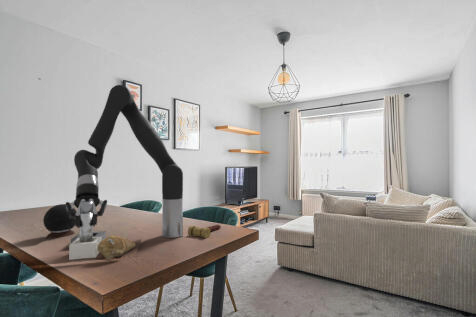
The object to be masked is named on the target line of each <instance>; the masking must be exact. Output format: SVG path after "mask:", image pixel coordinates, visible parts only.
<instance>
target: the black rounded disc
mask: <svg viewBox="0 0 476 317" xmlns="http://www.w3.org/2000/svg"><path fill="white" fill-rule="evenodd" d="M72 210H73V212H74V213H76V212H77V209H76V208H75V207H73V208H72ZM42 221H43V225H44V226H43V227H44V228H45V229H46V230H48V232H50V233H48V234H47V235H46V236H45V240H48V239H57V238H65V237H70V236H73V235H75V231H74V230H72V229H73V228H74V227H76V226H75V218H73V219H71V218H70V217H69V214H68V212H67V209H66V203H65V204H64V203H63V204H57V205H54V206H51V207H50V208H49V209H48V210H47V211H46V212H45V214H44V216H43V220H42Z"/></svg>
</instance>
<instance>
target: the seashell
mask: <svg viewBox="0 0 476 317" xmlns="http://www.w3.org/2000/svg"><path fill="white" fill-rule="evenodd" d="M136 245H137V244H136V242H134V241H132V240H130V239H129V238H125V237H124V236H118V235H116V234H115V235H109V236H106V238H105V239H103V240H102V241H101V242H100V243H99V245H98V248H97V249H98V251H99V252H100V253H99V254H101V255H102V256H103V258H104V259H105V260H107V261H110V260H113V259H114V258H115V259H119V258H120V257H122V256H123V255H124V254H126V253H128V252H129V251H131V250H132V249H134V248H135V247H136Z"/></svg>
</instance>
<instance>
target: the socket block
mask: <svg viewBox="0 0 476 317" xmlns="http://www.w3.org/2000/svg"><path fill="white" fill-rule="evenodd" d="M106 232H107V231H106V230H103V231H101V230H99V231H93V237H102V240H103V239H105V238H107V235H106V234H107V233H106ZM79 237H80V232H79V233H77V234H76V235H75V236H73V237H72V238H70V244H71V243H72V242H74V241H75V240H76V239H77V238H79Z"/></svg>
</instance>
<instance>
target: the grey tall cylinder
mask: <svg viewBox="0 0 476 317" xmlns="http://www.w3.org/2000/svg"><path fill="white" fill-rule="evenodd" d="M93 227H94V226H93V201H82V202H80V228H79V233H80V237H79V242H82V243H83V242H90V241H92V238H93V232H94V231H93V230H94V228H93Z"/></svg>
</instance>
